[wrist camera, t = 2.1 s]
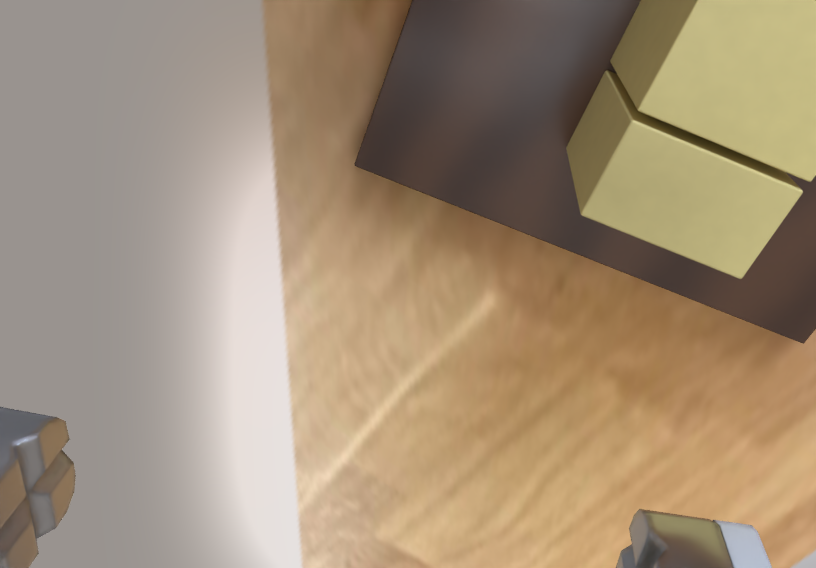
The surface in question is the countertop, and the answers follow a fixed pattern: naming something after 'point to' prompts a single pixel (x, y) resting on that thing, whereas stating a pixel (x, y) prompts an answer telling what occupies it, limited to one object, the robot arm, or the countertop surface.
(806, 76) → the butter block
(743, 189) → the butter slice
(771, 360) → the countertop surface
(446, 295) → the countertop surface
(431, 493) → the countertop surface
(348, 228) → the countertop surface
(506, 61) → the butter board
